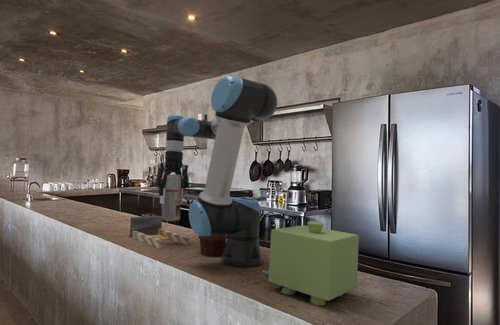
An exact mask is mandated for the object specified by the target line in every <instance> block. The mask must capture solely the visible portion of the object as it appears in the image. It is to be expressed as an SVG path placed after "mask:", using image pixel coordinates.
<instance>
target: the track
mask: <svg viewBox="0 0 500 325" xmlns="http://www.w3.org/2000/svg"><path fill="white" fill-rule="evenodd" d="M161 219H162V215H150V216H149V215H148V216H147V215H144V216H130V223H129V224H130V225H129V238H132V239H134V240H137V241H140V242H142V243H145V244H147V245H150V246H152V247H155V248H157V249H163V247H164V241H166V240H170V239H171V241H174V242H177V243H180V244H182V245H185V246H186V245H190V236H186V235H182V234H179V233H177V232H173V231H170V230H166V229H163V228H162V223H163V220H161Z"/></svg>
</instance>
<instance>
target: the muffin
mask: <svg viewBox="0 0 500 325" xmlns="http://www.w3.org/2000/svg"><path fill="white" fill-rule="evenodd" d="M198 239H199V245H200V255H202V256H205V257H221V254H222V251H223V249H224V246H225V244H226V241H227V234H223V235H210V236H199V235H198Z"/></svg>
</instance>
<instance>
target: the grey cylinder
mask: <svg viewBox="0 0 500 325" xmlns="http://www.w3.org/2000/svg"><path fill="white" fill-rule="evenodd" d="M164 188H166V189H165V204H161V216H162V219H161V220H162V221H165V222H173V221H174V222H176V221H180V220H181V204H182V203H181V176H180V175H178V174H175V173H174V174H170V175H168V176H167V181H166V184H165V186H164Z"/></svg>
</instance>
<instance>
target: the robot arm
mask: <svg viewBox="0 0 500 325" xmlns="http://www.w3.org/2000/svg"><path fill="white" fill-rule="evenodd" d="M210 102H211V104H210V106H211V108H212V110H214V112H215V115H214V116H215V119H212V120H211V121H210V120H209V121H208V120H202V119H197V118H195V117H194V116H183V115H179V114H170V115H168V116H167V119H166V134H165V135H166V136H165V137H166V140H165V150H166V151H165V154H164V158H165V159H164V160H165V161H164V163H163V162H159V163H158V164H157V167H158V170H157V174H156V178H155V183H154V187H157V188H158V196H159V204H161V205H162V204H165V189H166V188H164V186H165V184H166V181H167V176H168V175H172V174H171V173H174V175H175V174H178V175H180V176H181V204H183V203H184V201H183V199H184V196H185V193H186V192H185V191H186V189H187V188H189V187H190V184H189V173H188V168H189V165H188V164H183V158H184V152H183V151H184V138H185V137H190V138H200V139H208V140H212V141H213V142H214V143H213V147H212V152H211V157H210V163H209V167H208V171H207V176H206V182H205V187H204V190H203V191H201V192H200V193H199V195H198V199H197V200H194V201H192V202H191V203H190V205H189V208H188V220H189V224H190V227H191V230H192V231H193V232H194V234H196V235H197V236H198V237H199V236H210V235H223V234H225V235H226V236H227V239H226V243H225V246H224V249H223V251H222V254H221V256H220V261H221V262H222V263H223V264H225V265H228V266H233V267H243V268H244V267H245V268H247V267H249V268H250V267H256V266H259V265H261V264H262V263H263V254H262V250H261V247H260V242H259V237H260V236H259V234H260V219H261V218H260V217H261V204H260V202H259V201H257V200H253V199H252V200H251V199H244V198H240V197H234V196H230V192H231V189H232V184H233V179H234V175H235V171H236V166H237V161H238V157H239V153H240V148H241V145H242V140H243V134H244V130H245V128H246V127H247V126H249V125H250V124H252V123H261V122H264V121H267V120H268V119H270V118H271V117H273V115H274V114H275V112H276V110H277V109H278V108H277V107H278V97H277V94H276V92H275V90H274V89H273V88H272V87H270V86H269V85H267V84H266V83H263V82H257V81H254V80H249V79H246V78H243V77H239V76H232V75H226V76H224V77H222V78H220V79H219V80H218V81H217V83H216V84H215V86H214V88H213V90H212V94H211V97H210Z"/></svg>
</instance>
